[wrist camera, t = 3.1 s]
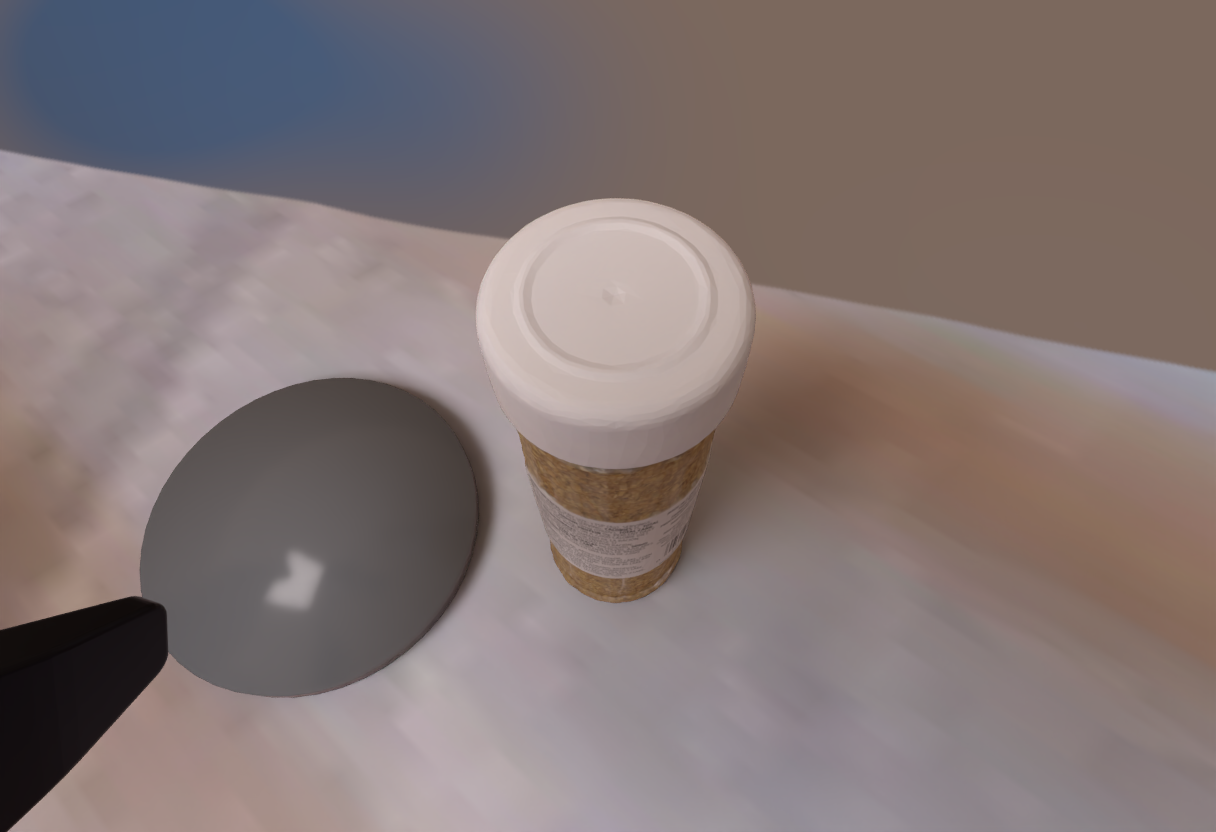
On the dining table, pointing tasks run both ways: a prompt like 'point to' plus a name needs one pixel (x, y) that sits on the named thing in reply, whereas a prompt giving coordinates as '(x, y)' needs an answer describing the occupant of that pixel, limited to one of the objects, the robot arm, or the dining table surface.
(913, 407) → the dining table surface
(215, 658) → the slate gray plate
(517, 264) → the sprinkles bottle
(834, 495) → the dining table surface
